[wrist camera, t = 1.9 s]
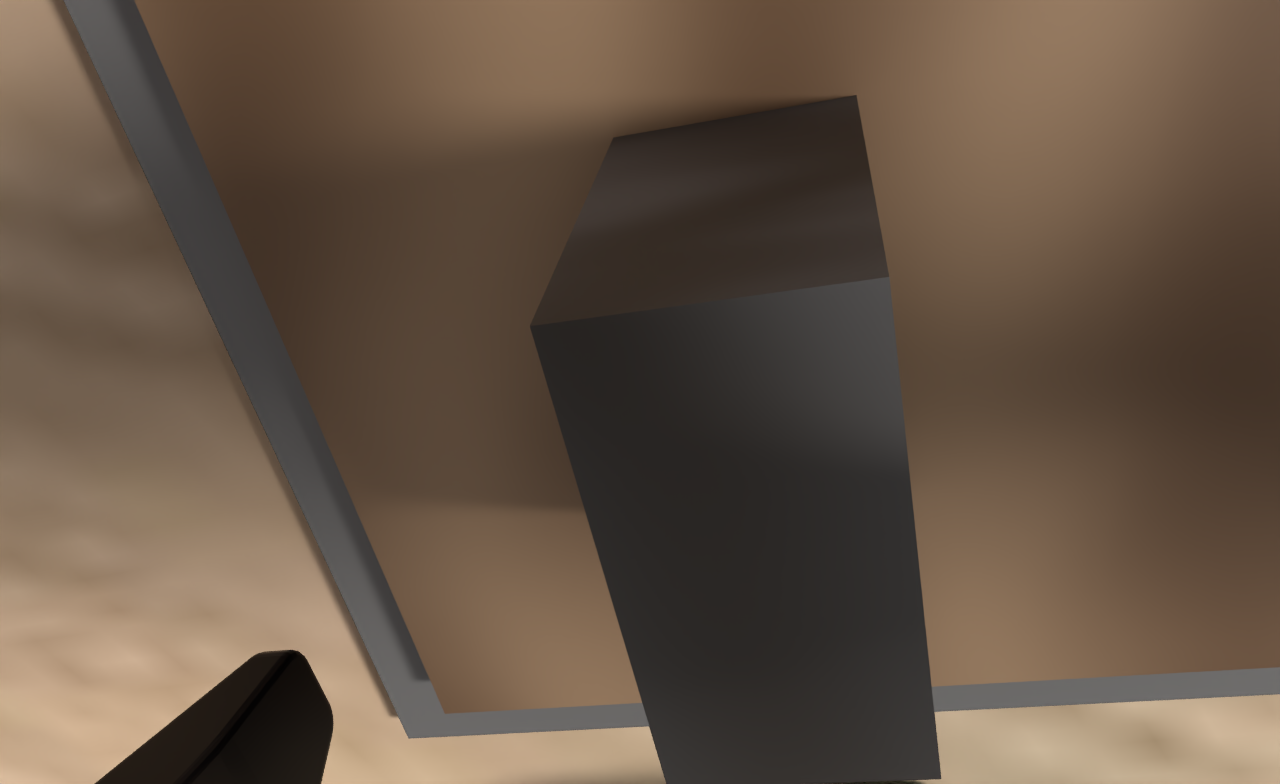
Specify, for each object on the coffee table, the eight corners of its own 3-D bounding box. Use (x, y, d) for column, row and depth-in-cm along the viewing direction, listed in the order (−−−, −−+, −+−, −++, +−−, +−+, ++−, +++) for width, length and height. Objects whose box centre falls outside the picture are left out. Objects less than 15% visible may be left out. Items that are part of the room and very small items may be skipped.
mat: (1575, -688, 9) (1611, -708, 9) (1345, 667, 18) (1358, 689, 17) (-17, -230, 13) (-44, -229, 13) (415, 718, 21) (408, 738, 21)
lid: (1389, -441, 10) (1954, -608, 5) (1266, 630, 17) (1458, 990, 12) (122, -120, 13) (-279, -34, 8) (456, 680, 20) (347, 986, 15)
